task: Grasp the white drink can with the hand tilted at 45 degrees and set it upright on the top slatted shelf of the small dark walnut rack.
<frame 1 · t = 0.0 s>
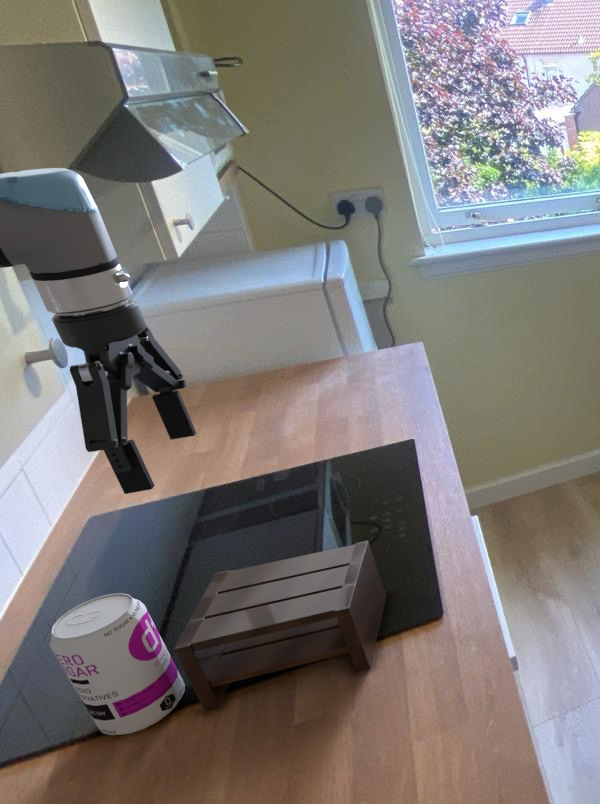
hand: (163, 461, 94), 25 cm above the worktop, tool pointing down, fingers open, 13 cm apart
white drink can: (145, 710, 89), on the worktop
rack: (303, 648, 97), on the worktop
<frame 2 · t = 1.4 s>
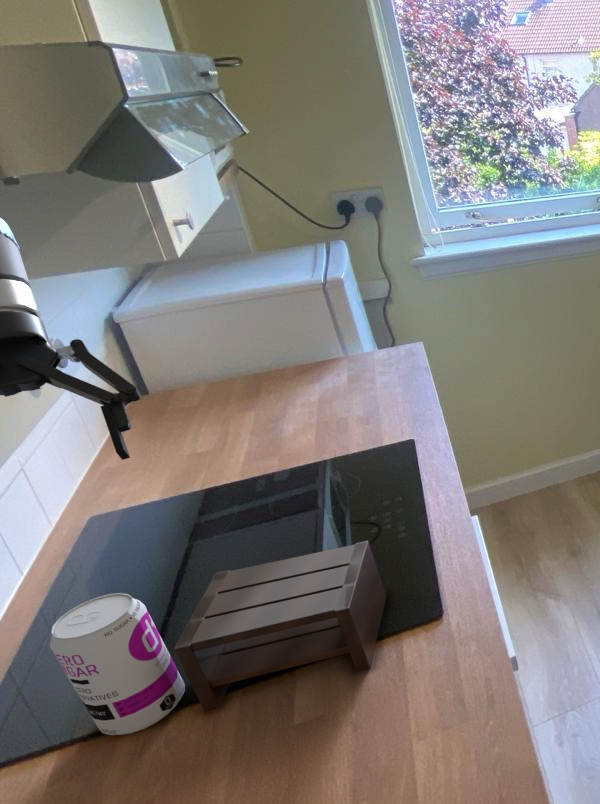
hand: (48, 477, 86), 28 cm above the worktop, tool tilted 45°, fingers open, 13 cm apart
nothing on the worktop moved.
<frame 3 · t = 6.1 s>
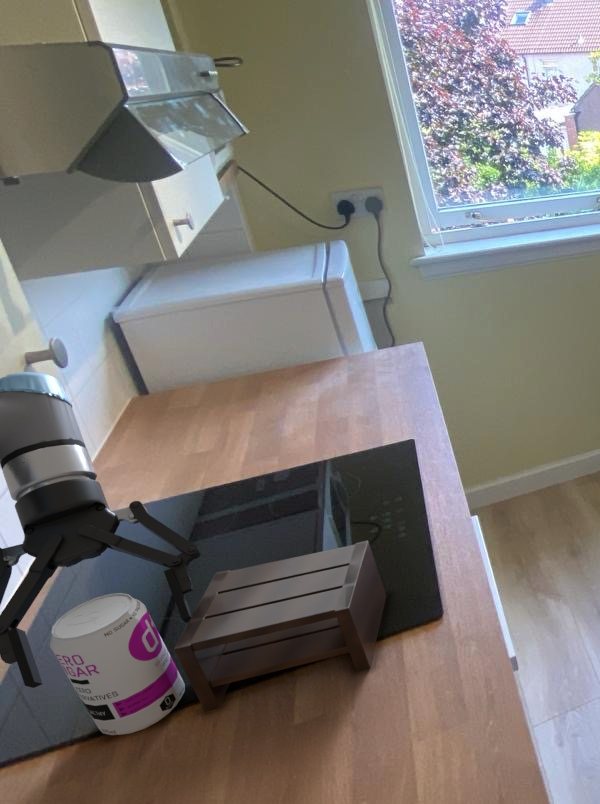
hand: (115, 651, 85), 9 cm above the worktop, tool tilted 45°, fingers open, 13 cm apart
nothing on the worktop moved.
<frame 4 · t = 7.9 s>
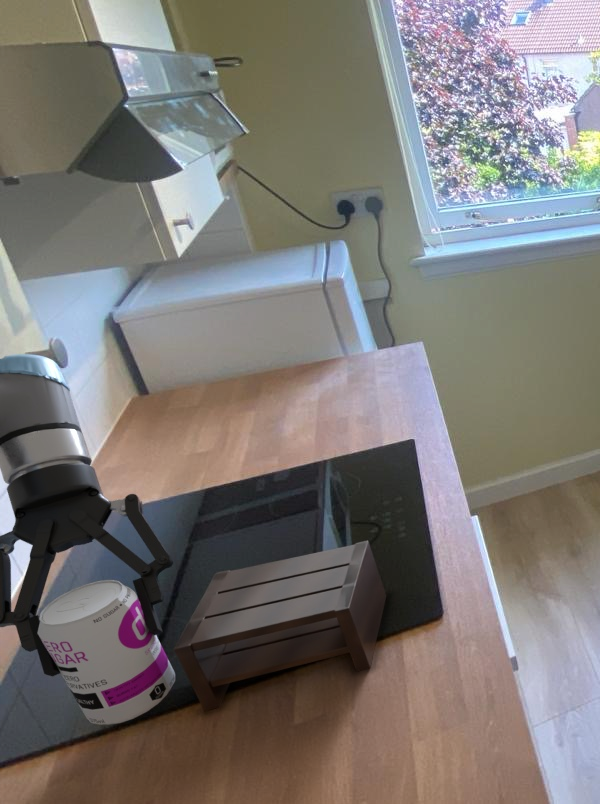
hand: (106, 651, 83), 11 cm above the worktop, tool tilted 45°, fingers closed on white drink can, 8 cm apart
white drink can: (135, 700, 87), point 2 cm above the worktop, touching gripper
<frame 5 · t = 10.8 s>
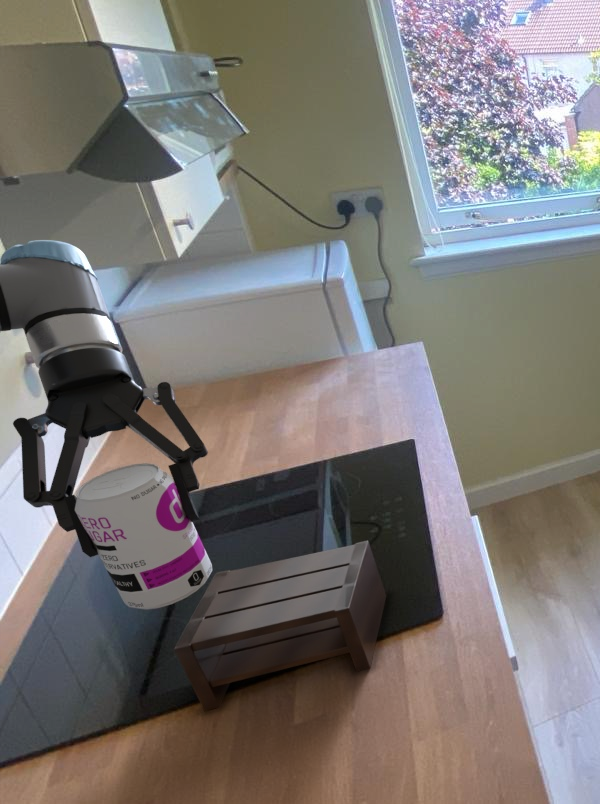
hand: (143, 534, 82), 24 cm above the worktop, tool tilted 45°, fingers closed on white drink can, 8 cm apart
white drink can: (172, 589, 86), point 15 cm above the worktop, touching gripper
when the fingers open (18 cm above the worktop, at t = 13.9 s): white drink can stays where it is, resting on rack.
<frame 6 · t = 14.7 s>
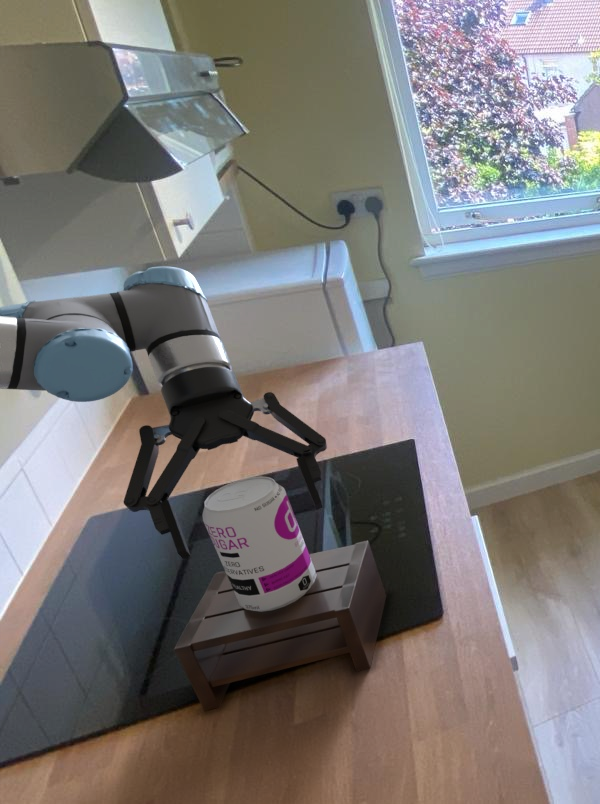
hand: (254, 529, 89), 20 cm above the worktop, tool tilted 45°, fingers open, 13 cm apart
white drink can: (281, 592, 93), point 10 cm above the worktop, touching rack
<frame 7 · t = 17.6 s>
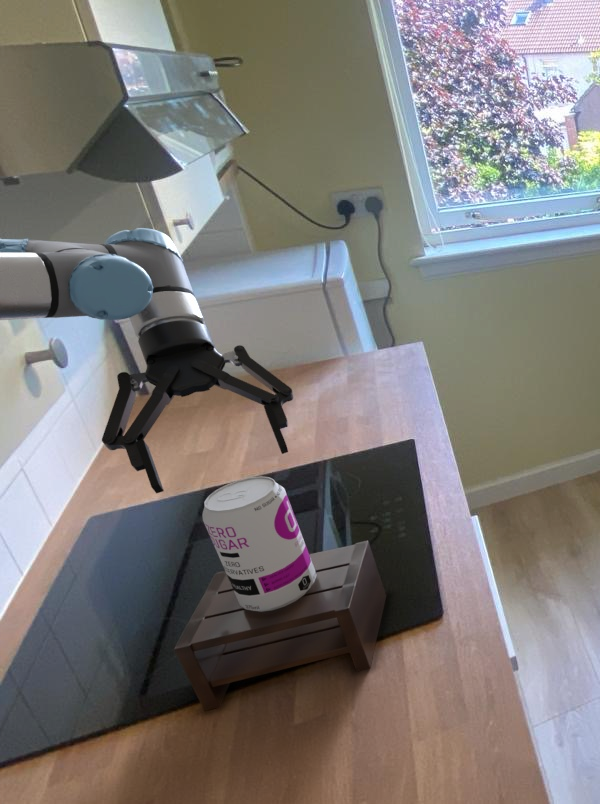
hand: (223, 468, 96), 23 cm above the worktop, tool tilted 45°, fingers open, 13 cm apart
nothing on the worktop moved.
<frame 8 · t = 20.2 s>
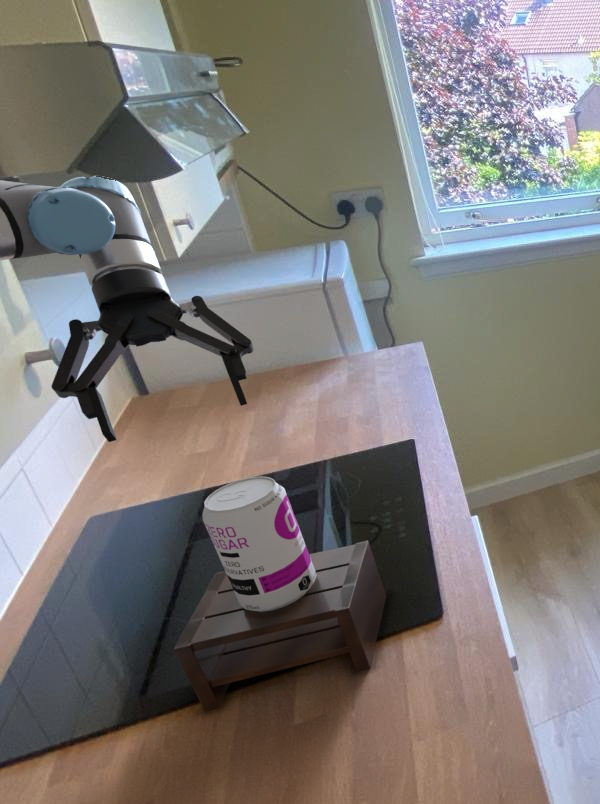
hand: (179, 418, 94), 30 cm above the worktop, tool tilted 45°, fingers open, 13 cm apart
nothing on the worktop moved.
at the end: white drink can inside the target area on the rack (0.4 cm from its centre), point 9.8 cm above the rack's base; white drink can tilted 0°; the gripper is holding nothing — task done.
